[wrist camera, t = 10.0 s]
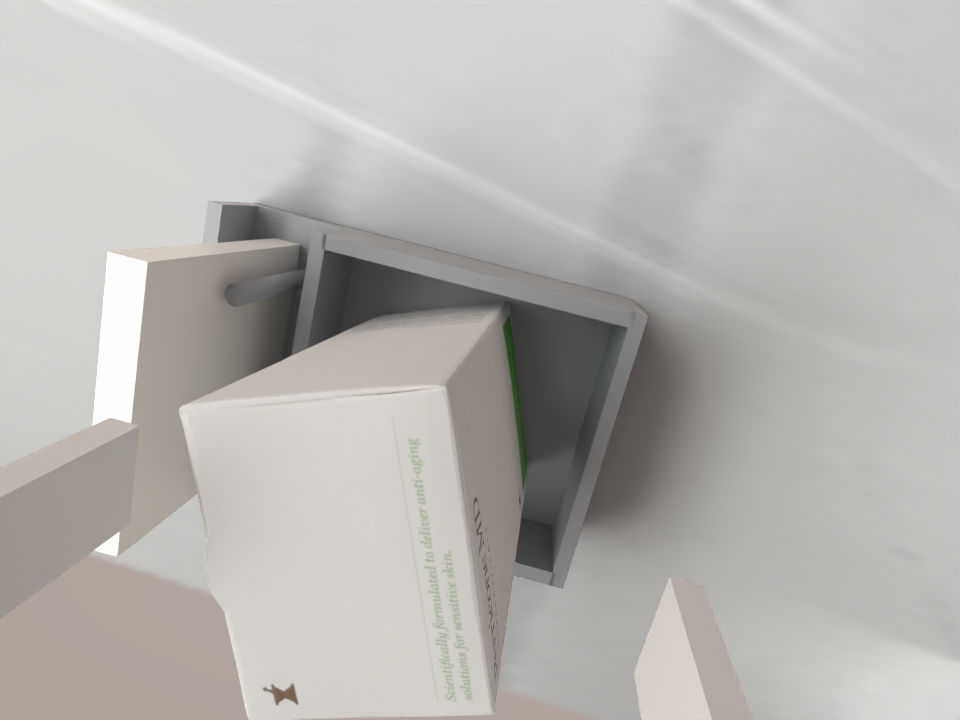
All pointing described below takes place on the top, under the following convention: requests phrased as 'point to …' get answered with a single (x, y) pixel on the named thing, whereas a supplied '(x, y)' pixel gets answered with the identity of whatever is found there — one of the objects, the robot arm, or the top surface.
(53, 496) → the robot arm
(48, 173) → the top surface
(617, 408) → the grey open box
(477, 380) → the skincare box
